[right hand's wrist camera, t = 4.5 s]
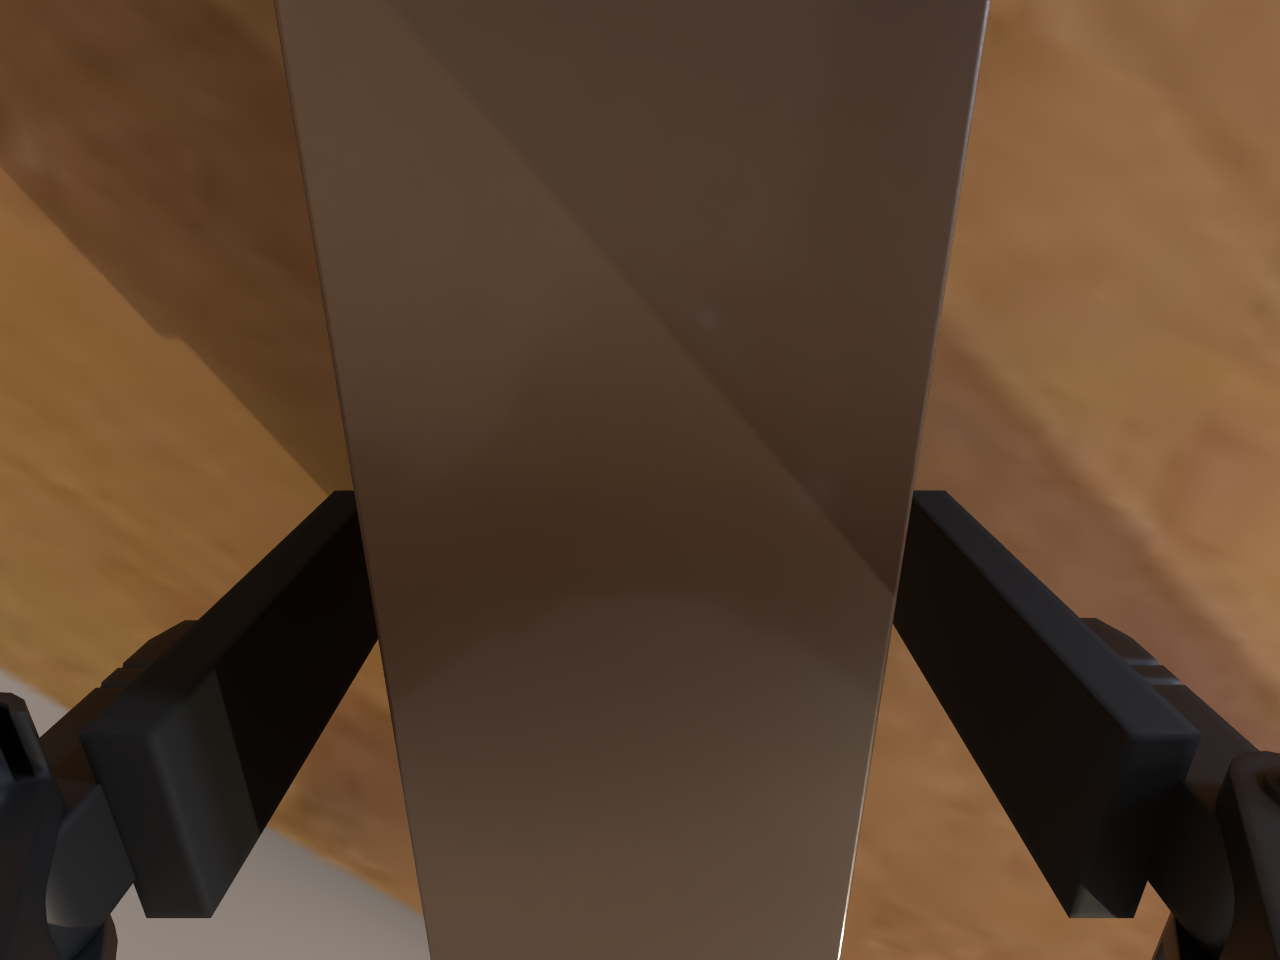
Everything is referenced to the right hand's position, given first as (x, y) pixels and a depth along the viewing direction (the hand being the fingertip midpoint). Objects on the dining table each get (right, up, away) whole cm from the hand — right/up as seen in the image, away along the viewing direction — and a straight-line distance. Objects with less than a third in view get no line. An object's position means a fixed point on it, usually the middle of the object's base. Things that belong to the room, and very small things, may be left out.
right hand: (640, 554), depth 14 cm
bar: (0, +20, -6) cm, 21 cm away
